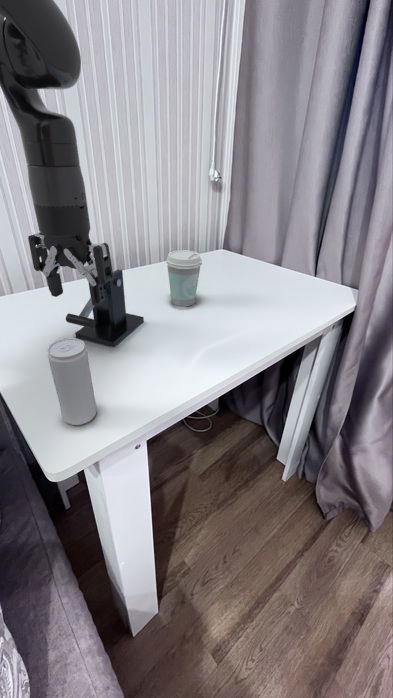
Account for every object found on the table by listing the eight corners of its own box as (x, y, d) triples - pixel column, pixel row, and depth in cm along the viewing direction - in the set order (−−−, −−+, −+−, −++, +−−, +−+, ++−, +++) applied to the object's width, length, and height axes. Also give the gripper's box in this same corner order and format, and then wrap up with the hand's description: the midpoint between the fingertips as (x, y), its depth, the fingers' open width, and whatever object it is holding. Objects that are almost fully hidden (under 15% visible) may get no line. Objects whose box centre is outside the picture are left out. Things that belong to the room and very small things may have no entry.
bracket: (113, 347, 65) (106, 286, 58) (75, 337, 67) (64, 277, 60) (143, 321, 74) (141, 265, 67) (109, 313, 77) (103, 259, 70)
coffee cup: (179, 312, 79) (180, 262, 72) (159, 299, 84) (158, 252, 78) (207, 303, 83) (209, 256, 77) (186, 292, 89) (187, 247, 82)
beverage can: (104, 412, 50) (94, 344, 43) (78, 432, 46) (63, 362, 40) (81, 400, 52) (69, 333, 45) (55, 418, 48) (37, 349, 42)
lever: (93, 331, 60) (87, 323, 58) (69, 325, 62) (63, 317, 60) (122, 281, 65) (118, 272, 63) (100, 277, 67) (95, 268, 65)
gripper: (2, 198, 48) (29, 300, 57) (84, 208, 44) (99, 316, 53) (40, 191, 54) (59, 285, 63) (115, 200, 50) (124, 299, 59)
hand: (77, 299), depth 58 cm, fingers open, 8 cm apart
